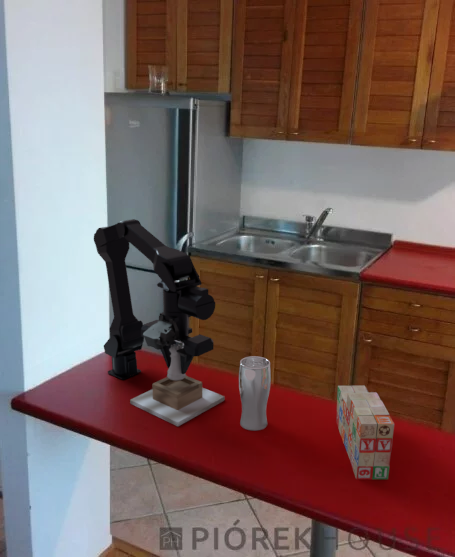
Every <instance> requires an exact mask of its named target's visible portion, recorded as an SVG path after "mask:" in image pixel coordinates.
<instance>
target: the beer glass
mask: <svg viewBox="0 0 455 557" xmlns="http://www.w3.org/2000/svg"><path fill="white" fill-rule="evenodd" d="M270 361H271V360H269V359H267V358H266V357H262V356H257V355H256V356H255V355H253V356H252V355H251V356H245V357H244V358H241V359H240V361H239V371H238V389H239V395H240V401H241V416H240V419H239V420H240V422H239V424H240V426H241V427H242V428H243V429H244V430H248V431H256V432H257V431H261V430H264V429H265V428H266V427H267V426H268V419H267V405H268V399H269V395H270V391H271V384H272V382H271V381H272V380H271V378H272V377H271V374H272V373H271V372H272V371H271V362H270Z"/></svg>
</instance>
